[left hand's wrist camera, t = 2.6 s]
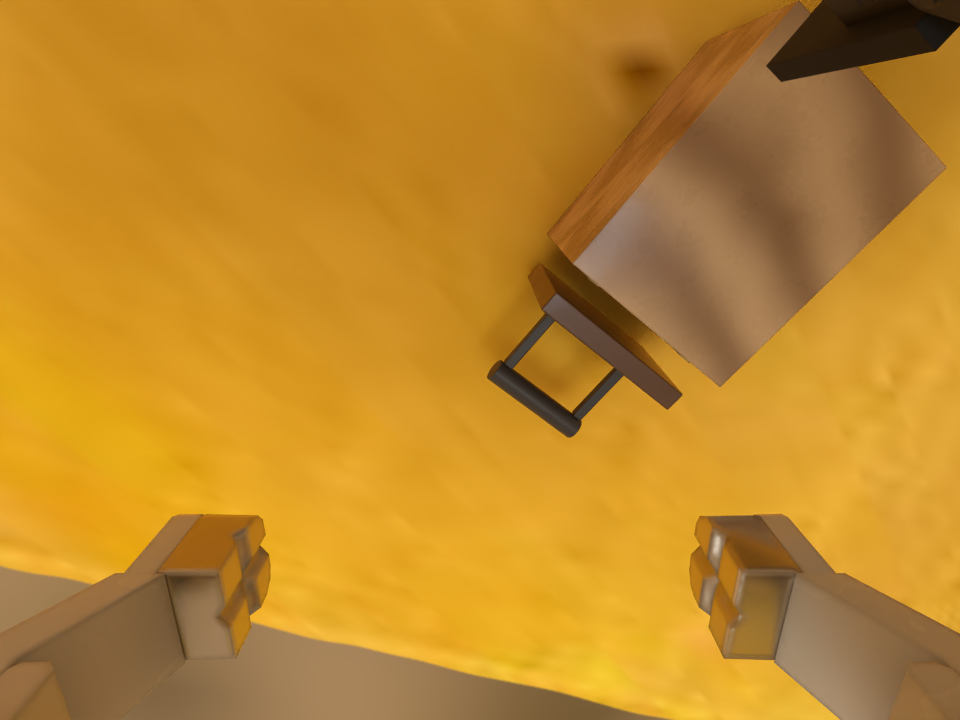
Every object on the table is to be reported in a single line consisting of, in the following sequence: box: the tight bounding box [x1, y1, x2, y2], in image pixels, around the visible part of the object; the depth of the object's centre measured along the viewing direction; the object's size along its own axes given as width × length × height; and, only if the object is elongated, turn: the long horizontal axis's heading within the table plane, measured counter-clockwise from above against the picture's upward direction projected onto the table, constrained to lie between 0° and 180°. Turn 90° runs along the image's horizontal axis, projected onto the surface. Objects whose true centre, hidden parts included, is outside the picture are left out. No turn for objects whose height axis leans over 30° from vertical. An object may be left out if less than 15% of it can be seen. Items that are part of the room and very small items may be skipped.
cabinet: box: [548, 1, 946, 387], centre depth 31 cm, size 14×10×10 cm
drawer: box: [487, 263, 690, 438], centre depth 32 cm, size 19×9×8 cm, turn 141°
